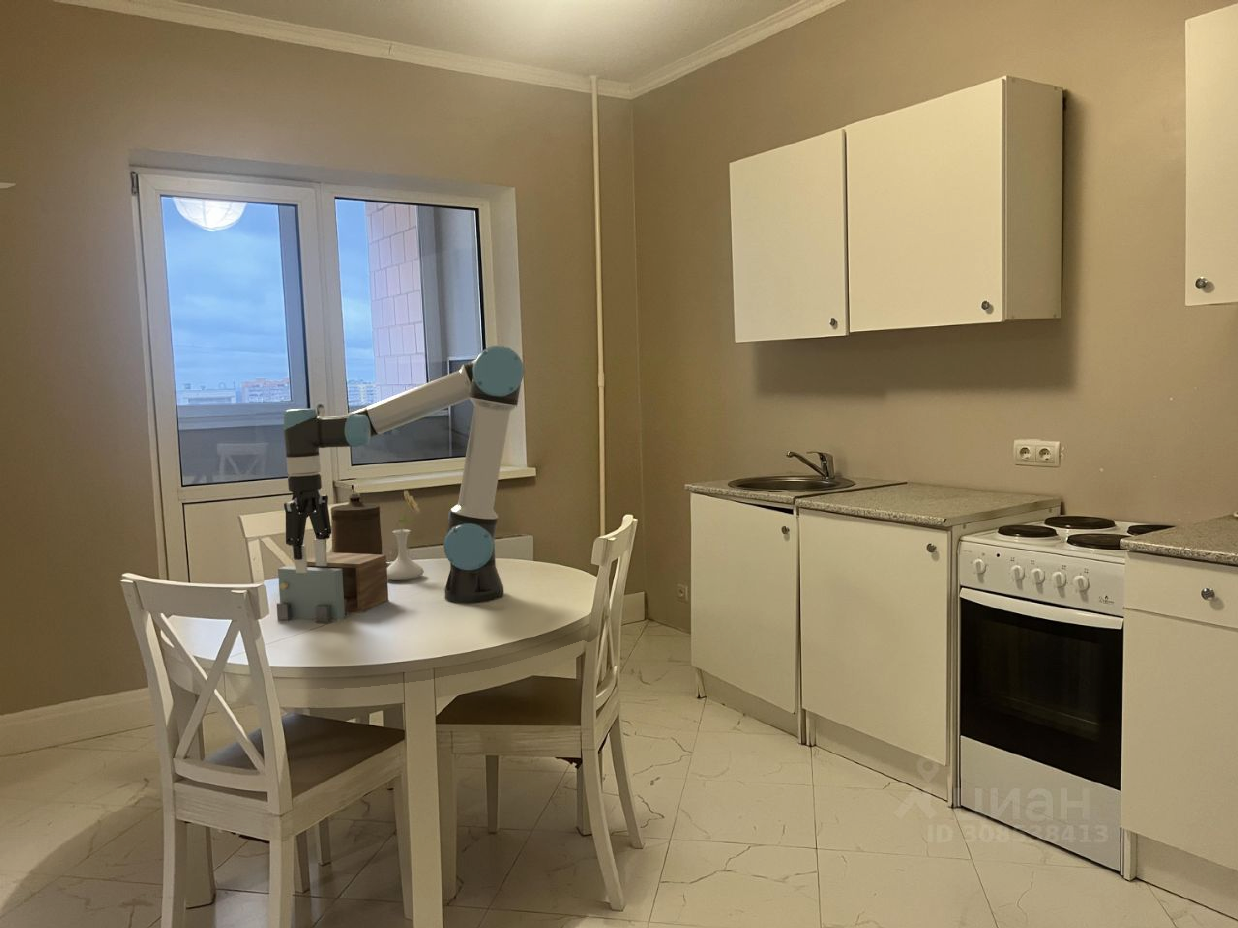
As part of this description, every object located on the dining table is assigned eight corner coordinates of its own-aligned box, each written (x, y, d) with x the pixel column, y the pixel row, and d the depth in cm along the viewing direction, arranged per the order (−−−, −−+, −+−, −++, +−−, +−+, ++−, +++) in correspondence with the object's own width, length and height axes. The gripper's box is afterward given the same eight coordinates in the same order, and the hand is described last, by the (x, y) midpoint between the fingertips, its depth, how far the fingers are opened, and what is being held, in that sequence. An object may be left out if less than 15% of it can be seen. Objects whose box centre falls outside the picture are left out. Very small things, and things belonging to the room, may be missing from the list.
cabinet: (388, 600, 241) (385, 554, 240) (361, 612, 229) (358, 564, 228) (328, 596, 246) (326, 552, 245) (299, 608, 235) (296, 561, 234)
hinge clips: (347, 614, 227) (346, 598, 227) (327, 623, 220) (326, 606, 219) (298, 611, 232) (297, 595, 231) (277, 619, 224) (276, 603, 224)
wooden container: (370, 558, 299) (367, 489, 297) (391, 564, 288) (387, 493, 285) (325, 564, 290) (321, 494, 287) (345, 572, 278) (341, 498, 276)
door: (344, 618, 225) (342, 568, 223) (334, 622, 221) (331, 572, 219) (288, 614, 230) (286, 566, 228) (277, 618, 226) (274, 569, 224)
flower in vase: (411, 584, 260) (407, 494, 257) (375, 582, 263) (370, 494, 261) (434, 574, 272) (430, 488, 269) (399, 572, 275) (395, 488, 273)
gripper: (316, 469, 233) (323, 560, 235) (263, 479, 214) (271, 577, 216) (342, 469, 230) (349, 560, 233) (290, 479, 212) (298, 578, 214)
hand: (311, 568), depth 224 cm, fingers open, 7 cm apart
